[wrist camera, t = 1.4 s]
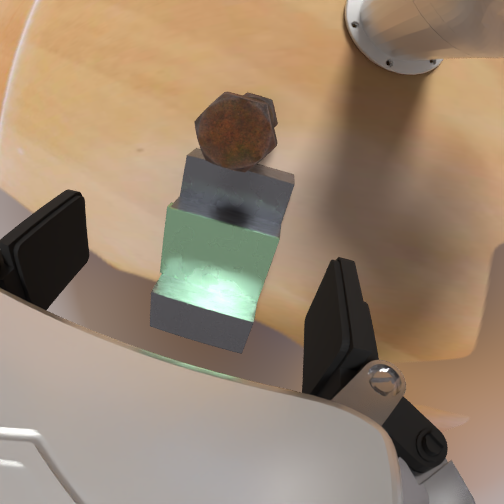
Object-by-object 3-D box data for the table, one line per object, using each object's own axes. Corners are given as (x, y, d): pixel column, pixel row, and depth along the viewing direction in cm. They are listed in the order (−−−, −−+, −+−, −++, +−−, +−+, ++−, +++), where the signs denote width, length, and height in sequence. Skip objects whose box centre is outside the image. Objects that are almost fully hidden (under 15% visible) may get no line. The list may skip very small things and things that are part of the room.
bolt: (285, 132, 33) (280, 167, 20) (242, 140, 34) (209, 181, 21) (274, 83, 30) (261, 83, 17) (230, 93, 31) (186, 102, 18)
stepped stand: (193, 147, 35) (159, 173, 26) (294, 174, 35) (294, 210, 26) (173, 277, 45) (147, 325, 37) (251, 300, 46) (241, 353, 37)
